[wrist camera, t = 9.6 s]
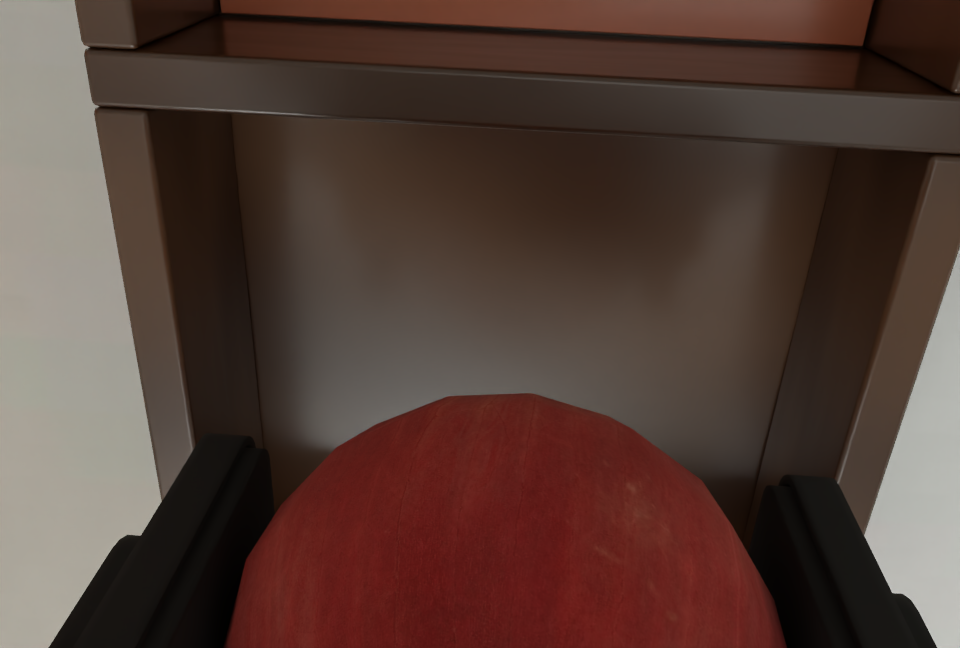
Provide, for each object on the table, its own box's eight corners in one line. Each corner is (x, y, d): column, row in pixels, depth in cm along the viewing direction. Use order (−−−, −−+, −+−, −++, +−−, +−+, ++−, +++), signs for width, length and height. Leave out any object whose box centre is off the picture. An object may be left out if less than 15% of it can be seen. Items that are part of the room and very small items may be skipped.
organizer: (68, -1067, 8) (-218, -1641, 5) (1182, -1062, 8) (1603, -1675, 5) (250, 536, 18) (190, 676, 15) (756, 574, 18) (803, 724, 15)
